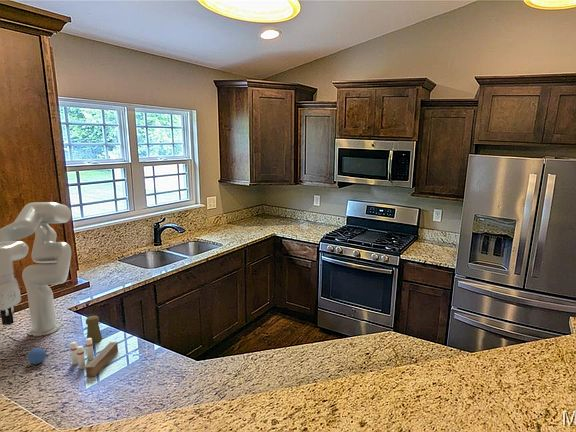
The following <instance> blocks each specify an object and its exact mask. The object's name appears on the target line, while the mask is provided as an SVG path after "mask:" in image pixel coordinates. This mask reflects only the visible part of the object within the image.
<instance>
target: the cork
mask: <svg viewBox="0 0 576 432" xmlns="http://www.w3.org/2000/svg"><path fill="white" fill-rule="evenodd" d="M99 322H100V317H99V316H98V315H90V316H88V317H87V318H86V319H85V325H87V329H86V330H87V332H86V339H87V338H92V344H93V345H94V344H98V343H99V342H101V341H102V340H103V337H102V333H101V329H100V324H99Z"/></svg>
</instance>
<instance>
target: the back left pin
mask: <svg viewBox="0 0 576 432" xmlns="http://www.w3.org/2000/svg"><path fill="white" fill-rule="evenodd" d="M93 345H94V344H92V338H87V337H86V339H85V347H86V348H85V349H86V357H87V361H90V362H91V361H92V360H93V359H94V358H95V356H94V348H93V347H94V346H93Z"/></svg>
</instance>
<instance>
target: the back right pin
mask: <svg viewBox="0 0 576 432" xmlns="http://www.w3.org/2000/svg"><path fill="white" fill-rule="evenodd" d="M84 349H85V348H84V345H77V356H78V364H77V365H78V369H79V370H84V369H86V360H85V351H84Z"/></svg>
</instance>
